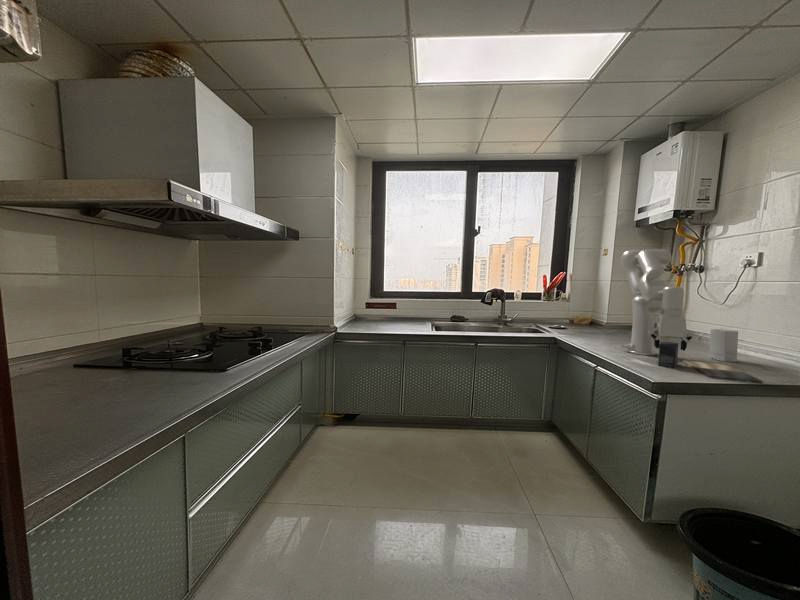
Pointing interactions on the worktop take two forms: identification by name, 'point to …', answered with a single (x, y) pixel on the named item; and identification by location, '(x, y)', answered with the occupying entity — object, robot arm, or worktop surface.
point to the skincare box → (723, 345)
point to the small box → (668, 354)
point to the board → (721, 371)
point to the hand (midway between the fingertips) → (669, 349)
